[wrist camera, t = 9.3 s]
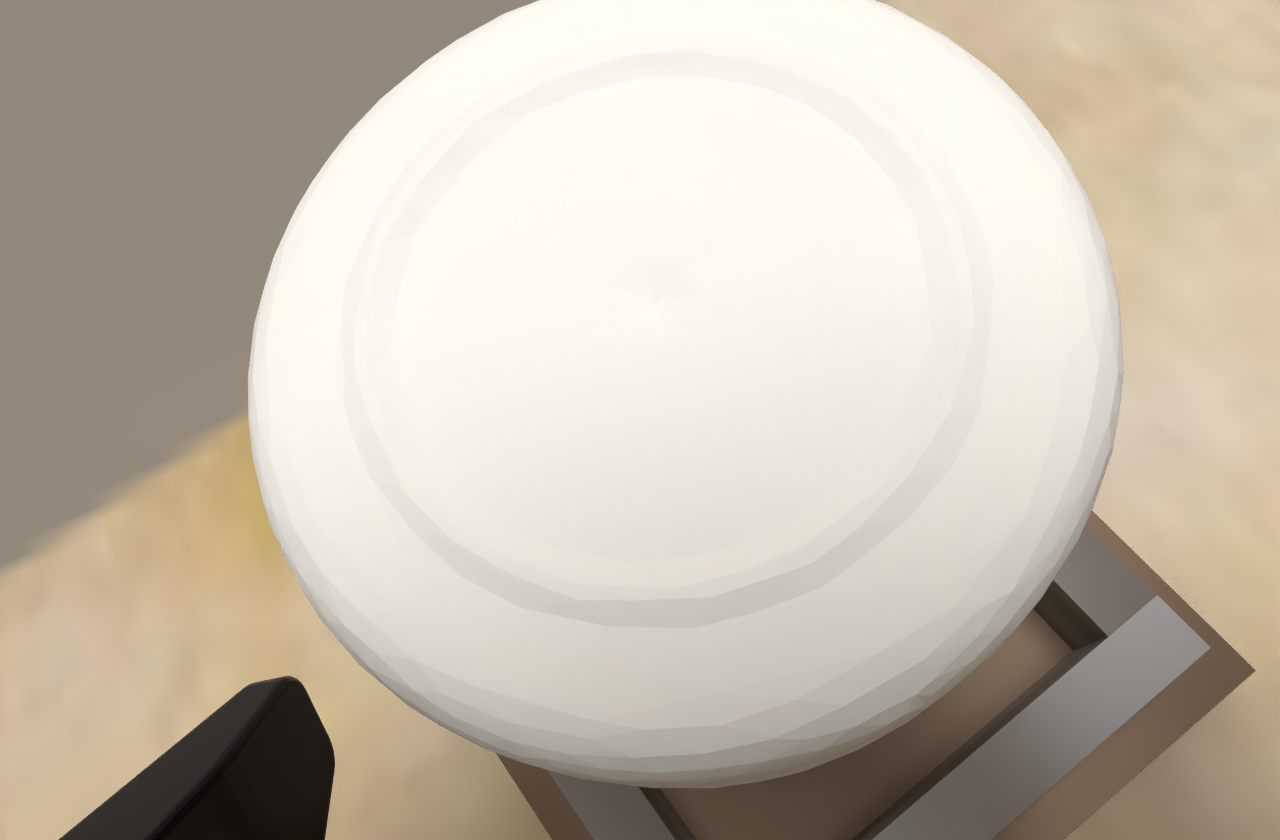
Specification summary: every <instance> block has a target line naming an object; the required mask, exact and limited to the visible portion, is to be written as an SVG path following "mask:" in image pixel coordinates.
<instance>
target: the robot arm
mask: <svg viewBox="0 0 1280 840" xmlns="http://www.w3.org/2000/svg"><path fill="white" fill-rule="evenodd" d="M334 768H335V758H334V751H333V747H332V743H331V741H330V738H329V736H328V734H327V732H326V730H325V728H324V726H323V724H322V722H321V720H320V718H319V716H318V714H317V712H316V710H315V708H314V706H313V704H312V702H311V699H310V697H309V695H308V693H307V691H306V689H305V688H304V686H303V685H302V683H301V682H300V681H299V680H298V679H296V678H294V677H291V676H284V677H279V678H274V679H270V680H265V681H260V682H255V683H252V684H250V685H248V686H246V687H245V688H243V689H242V690H241V691H240V692H238V693H237V694H236V695H235V696H234V697H232V698H231V699H230V700H229V701H227V702H226V703H225V704H224V705H223V706H221V707H220V708H219V709H218V710H216V711H215V712H214V713H213V714H212V715H210V716H209V717H208V718H207V719H205V720H204V721H203V722H202V723H201V724H199V725H198V726H197V727H196V728H194V729H193V730H192V731H191V732H190V733H188V734H187V735H186V736H185V737H183V738H182V739H181V740H180V741H179V742H177V743H176V744H175V745H174V746H172V747H171V748H170V749H169V750H168V751H166V752H165V753H164V754H163V755H162V756H160V757H159V758H158V759H157V760H155V761H154V762H153V763H152V764H151V765H149V766H148V767H147V768H146V769H144V770H143V771H142V772H141V773H140V774H138V775H137V776H136V777H135V778H133V779H132V780H131V781H130V782H129V783H127V784H126V785H125V786H124V787H122V788H121V789H120V790H119V791H118V792H116V793H115V794H114V795H113V796H111V797H110V798H109V799H108V800H107V801H105V802H104V803H103V804H102V805H100V806H99V807H98V808H97V809H96V810H94V811H93V812H92V813H91V814H89V815H88V816H87V817H86V818H85V819H83V820H82V821H81V822H80V823H78V824H77V825H76V826H75V827H74V828H72V829H71V830H70V831H69V832H67V833H66V834H65V835H64V836H63V837H61V838H60V839H59V840H325V834H326V827H327V820H328V813H329V805H330V798H331V791H332V784H333V777H334Z"/></svg>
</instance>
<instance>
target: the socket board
mask: <svg viewBox="0 0 1280 840" xmlns="http://www.w3.org/2000/svg"><path fill="white" fill-rule="evenodd" d="M1255 671H1256V670H1255V669H1254V668H1253V667H1252V666H1250V665H1249V664H1248V663H1247V662H1246V661H1245V660H1244V659H1243V658H1242V657H1241V656H1240V655H1239V654H1238V653H1237V652H1236V651H1235V650H1234V649H1233V648H1232V647H1231V646H1230V645H1229V644H1228V643H1227V642H1226V641H1225V640H1224V639H1223V638H1222V637H1221V636H1220V635H1219V634H1218V633H1217V632H1216V631H1215V630H1214V629H1213V628H1212V627H1211V626H1210V625H1209V624H1207V623H1206V622H1205V621H1204V620H1203V619H1202V618H1201V617H1200V616H1199V615H1198V614H1197V613H1196V612H1195V611H1194V610H1193V609H1192V608H1191V607H1190V606H1189V605H1188V604H1187V603H1186V602H1185V601H1184V600H1183V599H1182V598H1181V597H1180V596H1179V595H1178V594H1177V593H1176V592H1175V591H1174V590H1173V589H1172V588H1171V587H1170V586H1169V585H1168V584H1167V583H1165V582H1164V581H1163V580H1162V579H1161V578H1160V577H1159V576H1158V575H1157V574H1156V573H1155V572H1154V571H1153V570H1152V569H1151V568H1150V567H1149V566H1148V565H1147V564H1146V563H1145V562H1144V561H1143V560H1142V559H1141V558H1140V557H1139V556H1138V555H1137V554H1136V553H1135V552H1134V551H1133V550H1132V549H1131V548H1130V547H1129V546H1128V545H1127V544H1126V543H1125V542H1124V541H1122V540H1121V539H1120V538H1119V537H1118V536H1117V535H1116V534H1115V533H1114V532H1113V531H1112V530H1111V529H1110V528H1109V527H1108V526H1107V525H1106V524H1105V523H1104V522H1103V521H1102V520H1101V519H1100V518H1099V517H1098V516H1097V515H1096V514H1095V513H1094V512H1093V511H1091V513H1090V515H1089V517H1088V520H1087V522H1086V524H1085V526H1084V528H1083V530H1082V533H1081V535H1080V537H1079V539H1078V541H1077V543H1076V545H1075V546H1074V548H1073V549H1072V551H1071V552H1070V554H1069V556H1068V557H1067V559H1066V560H1065V562H1064V563H1063V565H1062V567H1061V568H1060V570H1059V571H1058V573H1057V574H1056V576H1055V578H1054V579H1053V581H1052V582H1051V584H1050V586H1049V587H1048V589H1047V590H1046V592H1045V593H1044V595H1043V597H1042V598H1041V599H1040V601H1039V602H1038V603H1037V604H1036V605H1035V607H1034V608H1033V609H1032V610H1031V611H1030V613H1029V614H1028V615H1027V616H1026V618H1025V619H1024V620H1023V621H1022V622H1021V624H1020V625H1019V626H1018V627H1017V628H1016V630H1015V631H1014V632H1013V633H1012V634H1011V635H1010V636H1009V637H1008V638H1007V639H1006V640H1005V642H1004V643H1003V644H1002V645H1001V646H1000V647H999V648H998V649H997V650H996V651H995V652H994V653H993V654H992V655H991V656H990V657H989V658H988V659H987V660H985V661H984V662H983V663H982V664H981V665H980V666H978V667H977V668H976V669H975V670H974V671H973V672H972V673H970V674H969V675H968V676H967V677H966V678H965V679H963V680H962V681H961V682H960V683H959V684H958V685H957V686H955V687H954V688H953V689H952V690H951V691H950V692H948V693H947V694H946V695H944V696H943V697H942V698H940V699H939V700H937V701H936V702H935V703H933V704H932V705H931V706H929V707H928V708H926V709H925V710H924V711H922V712H921V713H920V714H918V715H917V716H916V717H914V718H913V719H911V720H910V721H909V722H907V723H906V724H904V725H902V726H901V727H899V728H897V729H895V730H893V731H891V732H890V733H888V734H886V735H884V736H882V737H881V738H879V739H877V740H875V741H873V742H872V743H870V744H868V745H866V746H864V747H862V748H861V749H859V750H857V751H854V752H852V753H849V754H847V755H844V756H842V757H839V758H837V759H834V760H831V761H829V762H826V763H824V764H821V765H819V766H816V767H814V768H811V769H809V770H806V771H803V772H799V773H796V774H792V775H787V776H783V777H778V778H774V779H769V780H765V781H760V782H755V783H747V784H740V785H732V786H725V787H717V788H648V787H640V786H631V785H622V784H614V783H606V782H599V781H592V780H584V779H580V778H576V777H572V776H568V775H564V774H561V773H557V772H553V771H550V770H546V769H543V768H539V767H536V766H532V765H529V764H525V763H522V762H519V761H516V760H514V759H511V758H508V757H506V756H503V755H500V754H497V753H496V754H497V755H498V757H499V758H500V760H501V761H502V763H503V764H504V766H505V768H506V769H507V771H508V772H509V774H510V775H511V777H512V778H513V780H514V781H515V783H516V784H517V786H518V787H519V789H520V790H521V792H522V794H523V795H524V797H525V798H526V800H527V801H528V803H529V804H530V806H531V807H532V809H533V810H534V812H535V813H536V815H537V816H538V818H539V820H540V821H541V823H542V824H543V826H544V827H545V829H546V830H547V832H548V833H549V835H550V836H551V838H552V839H553V840H1063V839H1064V838H1065V837H1066V836H1068V835H1069V834H1070V833H1071V832H1072V831H1073V830H1074V829H1076V828H1077V827H1078V826H1079V825H1080V824H1081V823H1082V822H1084V821H1085V820H1086V819H1087V818H1088V817H1089V816H1090V815H1092V814H1093V813H1094V812H1095V811H1096V810H1097V809H1098V808H1100V807H1101V806H1102V805H1103V804H1104V803H1105V802H1106V801H1107V800H1109V799H1110V798H1111V797H1112V796H1113V795H1114V794H1115V793H1117V792H1118V791H1119V790H1120V789H1121V788H1122V787H1123V786H1125V785H1126V784H1127V783H1128V782H1129V781H1130V780H1131V779H1133V778H1134V777H1135V776H1136V775H1137V774H1138V773H1139V772H1141V771H1142V770H1143V769H1144V768H1145V767H1146V766H1147V765H1149V764H1150V763H1151V762H1152V761H1153V760H1154V759H1155V758H1157V757H1158V756H1159V755H1160V754H1161V753H1162V752H1163V751H1164V750H1166V749H1167V748H1168V747H1169V746H1170V745H1171V744H1172V743H1174V742H1175V741H1176V740H1177V739H1178V738H1179V737H1180V736H1182V735H1183V734H1184V733H1185V732H1186V731H1187V730H1188V729H1190V728H1191V727H1192V726H1193V725H1194V724H1195V723H1196V722H1198V721H1199V720H1200V719H1201V718H1202V717H1203V716H1204V715H1206V714H1207V713H1208V712H1209V711H1210V710H1211V709H1212V708H1214V707H1215V706H1216V705H1217V704H1218V703H1219V702H1220V701H1221V700H1223V699H1224V698H1225V697H1226V696H1227V695H1228V694H1229V693H1231V692H1232V691H1233V690H1234V689H1235V688H1236V687H1237V686H1239V685H1240V684H1241V683H1242V682H1243V681H1244V680H1245V679H1247V678H1248V677H1249V676H1250V675H1251V674H1252V673H1253V672H1255Z"/></svg>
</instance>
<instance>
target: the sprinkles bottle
mask: <svg viewBox="0 0 1280 840" xmlns="http://www.w3.org/2000/svg"><path fill="white" fill-rule="evenodd" d="M1123 374H1124V371H1123V355H1122V338H1121V321H1120V304H1119V298H1118V293H1117V288H1116V283H1115V278H1114V273H1113V268H1112V263H1111V259H1110V256H1109V252H1108V249H1107V246H1106V242H1105V240H1104V237H1103V234H1102V232H1101V229H1100V227H1099V224H1098V221H1097V219H1096V216H1095V214H1094V211H1093V208H1092V206H1091V203H1090V201H1089V198H1088V196H1087V194H1086V192H1085V191H1084V189H1083V187H1082V185H1081V183H1080V182H1079V180H1078V178H1077V176H1076V174H1075V173H1074V171H1073V169H1072V167H1071V166H1070V164H1069V163H1068V161H1067V160H1066V158H1065V156H1064V155H1063V153H1062V152H1061V150H1060V149H1059V147H1058V146H1057V144H1056V143H1055V141H1054V140H1053V138H1052V137H1051V135H1050V134H1049V133H1048V131H1047V130H1046V129H1045V128H1044V126H1043V125H1042V124H1041V122H1040V121H1039V120H1038V119H1037V117H1036V116H1035V115H1034V114H1033V112H1032V111H1031V110H1030V109H1029V107H1028V106H1027V105H1026V104H1025V102H1024V101H1023V100H1022V99H1021V98H1020V97H1019V96H1018V95H1017V94H1016V93H1015V92H1014V91H1013V90H1012V89H1011V88H1010V87H1009V86H1008V85H1007V84H1006V83H1005V82H1004V81H1003V80H1002V79H1001V78H1000V77H999V76H997V75H996V74H995V73H994V72H993V71H991V70H990V69H989V68H988V67H987V66H985V65H984V64H983V63H982V62H980V61H979V60H978V59H976V58H975V57H973V56H972V55H971V54H969V53H968V52H967V51H965V50H964V49H962V48H961V47H960V46H958V45H957V44H956V43H954V42H953V41H951V40H950V39H949V38H947V37H946V36H945V35H943V34H941V33H939V32H937V31H935V30H934V29H932V28H930V27H928V26H926V25H924V24H922V23H920V22H919V21H917V20H915V19H913V18H911V17H909V16H907V15H905V14H904V13H902V12H900V11H898V10H896V9H894V8H892V7H890V6H889V5H886V4H883V3H881V2H878V1H875V0H539V1H536V2H534V3H531V4H528V5H526V6H523V7H521V8H518V9H516V10H513V11H510V12H508V13H505V14H503V15H501V16H499V17H497V18H496V19H494V20H492V21H490V22H488V23H487V24H485V25H483V26H481V27H479V28H477V29H476V30H474V31H472V32H470V33H468V34H467V35H465V36H463V37H461V38H459V39H457V40H456V41H455V42H453V43H452V44H450V45H449V46H447V47H446V48H445V49H443V50H442V51H440V52H439V53H437V54H436V55H434V56H433V57H432V58H430V59H429V60H427V61H426V62H424V63H423V64H422V65H421V66H420V67H419V68H417V69H416V70H415V71H414V72H413V73H411V74H410V75H409V76H408V77H406V78H405V79H404V80H403V81H402V82H401V83H399V84H398V85H397V86H396V87H395V88H393V89H392V90H391V91H390V92H389V93H387V94H386V95H385V96H384V97H382V99H380V100H379V101H378V102H377V103H376V104H375V105H374V107H373V108H372V109H371V110H370V111H369V112H368V113H367V114H366V115H365V116H364V117H363V118H362V119H361V120H360V121H359V122H358V123H357V124H356V125H355V127H354V128H353V129H352V130H351V131H350V132H349V133H348V134H347V135H346V137H345V138H344V139H343V140H342V142H341V143H340V144H339V146H338V147H337V148H336V149H335V151H334V152H333V153H332V155H331V156H330V157H329V159H328V160H327V162H326V163H325V164H324V166H323V167H322V169H321V170H320V171H319V173H318V174H317V176H316V177H315V179H314V180H313V181H312V183H311V185H310V186H309V188H308V190H307V191H306V193H305V195H304V197H303V198H302V200H301V201H300V203H299V205H298V206H297V208H296V210H295V212H294V214H293V216H292V218H291V220H290V222H289V225H288V227H287V229H286V231H285V234H284V236H283V238H282V240H281V243H280V245H279V247H278V249H277V251H276V253H275V256H274V258H273V261H272V265H271V268H270V271H269V274H268V277H267V281H266V284H265V287H264V291H263V294H262V298H261V302H260V306H259V309H258V313H257V317H256V320H255V324H254V332H253V341H252V349H251V357H250V365H249V373H248V421H249V430H250V439H251V447H252V456H253V461H254V465H255V470H256V474H257V478H258V482H259V486H260V490H261V495H262V498H263V502H264V505H265V509H266V512H267V515H268V519H269V522H270V526H271V529H272V532H273V534H274V535H275V537H276V539H277V541H278V542H279V544H280V546H281V548H282V555H283V557H284V558H285V560H286V562H287V564H288V565H289V567H290V569H291V571H292V572H293V574H294V576H295V578H296V580H297V581H298V583H299V585H300V587H301V588H302V590H303V592H304V593H305V595H306V597H307V598H308V600H309V601H310V603H311V605H312V606H313V608H314V610H315V611H316V613H317V615H318V616H319V618H320V619H321V620H322V621H323V622H324V624H325V625H326V626H327V627H328V628H329V629H330V631H331V632H332V633H333V634H334V635H335V636H336V638H337V639H338V640H339V641H340V642H341V643H342V645H343V646H344V647H345V648H346V649H347V651H348V652H349V653H350V654H351V655H352V656H353V658H354V659H355V660H356V661H357V662H358V663H359V665H360V666H362V667H363V668H364V669H365V670H366V671H368V672H369V673H370V674H371V675H372V676H374V677H375V678H376V679H377V680H378V681H380V682H381V683H382V684H383V685H384V686H386V687H387V688H388V689H389V690H390V691H392V692H393V693H394V694H395V695H396V696H398V697H399V698H400V699H401V700H402V701H404V702H405V703H406V704H407V705H408V706H410V707H412V708H413V709H415V710H416V711H418V712H419V713H421V714H423V715H424V716H426V717H427V718H429V719H431V720H432V721H434V722H435V723H437V724H439V725H440V726H442V727H444V728H446V729H448V730H450V731H452V732H454V733H456V734H458V735H460V736H461V737H463V738H465V739H467V740H469V741H471V742H473V743H475V744H477V745H479V746H481V747H483V748H485V749H487V750H489V751H492V752H495V753H497V754H500V755H503V756H506V757H508V758H511V759H514V760H516V761H519V762H522V763H525V764H529V765H532V766H536V767H539V768H543V769H546V770H550V771H553V772H557V773H561V774H564V775H568V776H572V777H576V778H580V779H584V780H592V781H599V782H606V783H614V784H622V785H631V786H640V787H648V788H717V787H725V786H732V785H740V784H747V783H755V782H760V781H765V780H769V779H774V778H778V777H783V776H787V775H792V774H796V773H799V772H803V771H806V770H809V769H811V768H814V767H816V766H819V765H821V764H824V763H826V762H829V761H831V760H834V759H837V758H839V757H842V756H844V755H847V754H849V753H852V752H854V751H857V750H859V749H861V748H862V747H864V746H866V745H868V744H870V743H872V742H873V741H875V740H877V739H879V738H881V737H882V736H884V735H886V734H888V733H890V732H891V731H893V730H895V729H897V728H899V727H901V726H902V725H904V724H906V723H907V722H909V721H910V720H911V719H913V718H914V717H916V716H917V715H918V714H920V713H921V712H922V711H924V710H925V709H926V708H928V707H929V706H931V705H932V704H933V703H935V702H936V701H937V700H939V699H940V698H942V697H943V696H944V695H946V694H947V693H948V692H950V691H951V690H952V689H953V688H954V687H955V686H957V685H958V684H959V683H960V682H961V681H962V680H963V679H965V678H966V677H967V676H968V675H969V674H970V673H972V672H973V671H974V670H975V669H976V668H977V667H978V666H980V665H981V664H982V663H983V662H984V661H985V660H987V659H988V658H989V657H990V656H991V655H992V654H993V653H994V652H995V651H996V650H997V649H998V648H999V647H1000V646H1001V645H1002V644H1003V643H1004V642H1005V640H1006V639H1007V638H1008V637H1009V636H1010V635H1011V634H1012V633H1013V632H1014V631H1015V630H1016V628H1017V627H1018V626H1019V625H1020V624H1021V622H1022V621H1023V620H1024V619H1025V618H1026V616H1027V615H1028V614H1029V613H1030V611H1031V610H1032V609H1033V608H1034V607H1035V605H1036V604H1037V603H1038V602H1039V601H1040V599H1041V598H1042V597H1043V595H1044V593H1045V592H1046V590H1047V589H1048V587H1049V586H1050V584H1051V582H1052V581H1053V579H1054V578H1055V576H1056V574H1057V573H1058V571H1059V570H1060V568H1061V567H1062V565H1063V563H1064V562H1065V560H1066V559H1067V557H1068V556H1069V554H1070V552H1071V551H1072V549H1073V548H1074V546H1075V545H1076V543H1077V541H1078V539H1079V537H1080V535H1081V533H1082V530H1083V528H1084V526H1085V524H1086V522H1087V520H1088V517H1089V515H1090V513H1091V511H1092V509H1093V506H1094V503H1095V500H1096V497H1097V494H1098V491H1099V488H1100V485H1101V482H1102V479H1103V476H1104V474H1105V471H1106V468H1107V465H1108V462H1109V459H1110V456H1111V453H1112V450H1113V444H1114V438H1115V433H1116V427H1117V421H1118V416H1119V409H1120V400H1121V391H1122V383H1123Z"/></svg>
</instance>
